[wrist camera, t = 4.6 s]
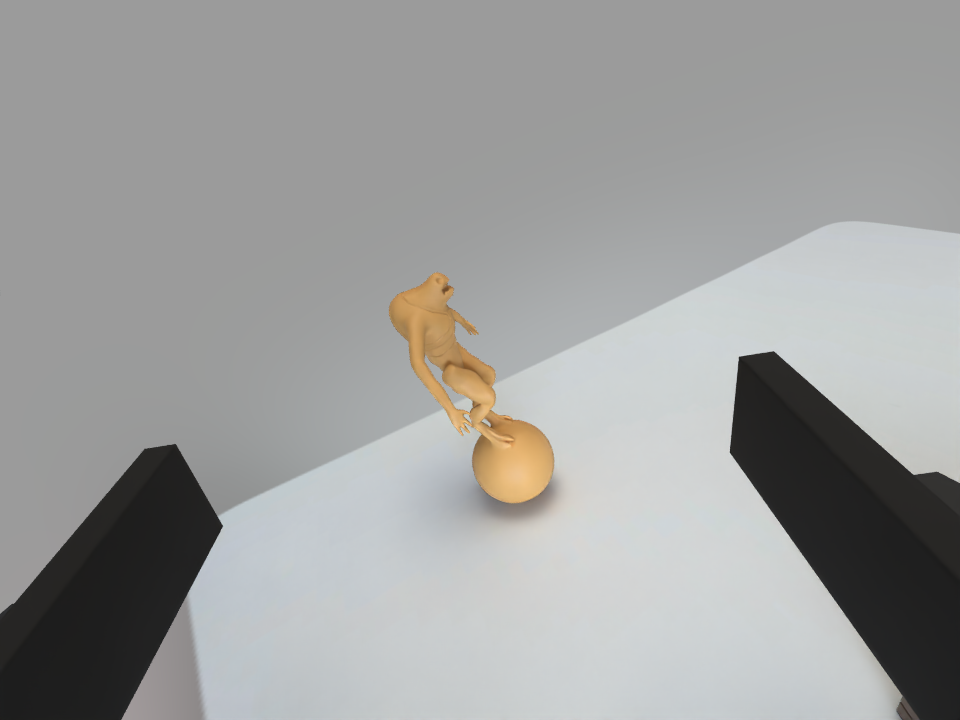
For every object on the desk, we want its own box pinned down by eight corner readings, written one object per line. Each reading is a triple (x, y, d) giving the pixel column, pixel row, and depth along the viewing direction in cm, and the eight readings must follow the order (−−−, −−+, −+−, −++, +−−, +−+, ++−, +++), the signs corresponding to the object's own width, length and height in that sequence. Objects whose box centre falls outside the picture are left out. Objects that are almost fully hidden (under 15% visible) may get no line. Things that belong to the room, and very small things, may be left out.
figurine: (567, 554, 22) (539, 301, 16) (431, 567, 23) (357, 327, 17) (549, 435, 29) (524, 229, 24) (446, 446, 30) (397, 249, 24)
